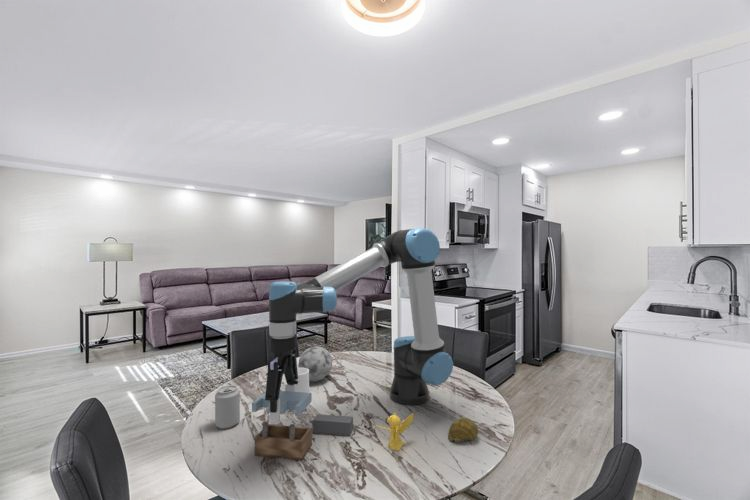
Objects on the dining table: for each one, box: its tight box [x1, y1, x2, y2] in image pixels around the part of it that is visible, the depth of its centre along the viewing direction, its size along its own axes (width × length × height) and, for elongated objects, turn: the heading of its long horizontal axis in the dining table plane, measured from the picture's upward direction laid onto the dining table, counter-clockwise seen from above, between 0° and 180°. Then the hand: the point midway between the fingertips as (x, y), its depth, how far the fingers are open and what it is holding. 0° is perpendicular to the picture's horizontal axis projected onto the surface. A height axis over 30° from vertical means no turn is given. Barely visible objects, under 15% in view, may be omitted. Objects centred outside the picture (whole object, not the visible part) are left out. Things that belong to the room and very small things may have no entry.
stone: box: [297, 345, 333, 383], centre depth 150 cm, size 15×16×15 cm
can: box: [214, 384, 241, 430], centre depth 112 cm, size 8×8×12 cm
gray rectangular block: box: [312, 413, 354, 437], centre depth 107 cm, size 12×4×4 cm, turn 80°
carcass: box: [254, 421, 313, 461], centre depth 97 cm, size 14×8×9 cm, turn 80°
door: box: [251, 390, 312, 417], centre depth 97 cm, size 14×9×2 cm, turn 80°
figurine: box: [374, 412, 415, 451], centre depth 100 cm, size 12×12×9 cm
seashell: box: [447, 417, 479, 443], centre depth 102 cm, size 10×7×8 cm
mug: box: [286, 367, 310, 393], centre depth 126 cm, size 12×8×12 cm
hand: (282, 414), depth 97 cm, fingers closed on door, 9 cm apart
